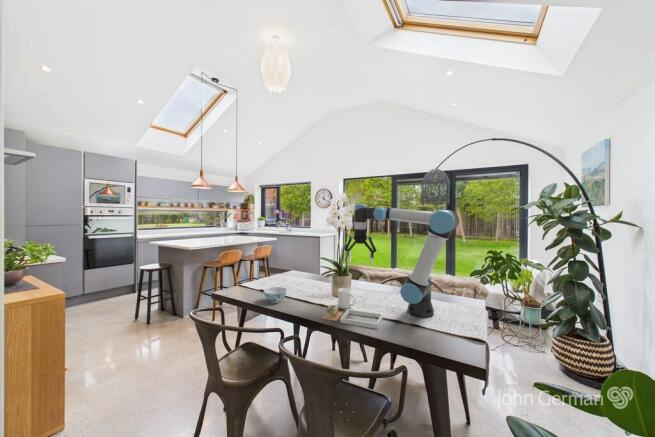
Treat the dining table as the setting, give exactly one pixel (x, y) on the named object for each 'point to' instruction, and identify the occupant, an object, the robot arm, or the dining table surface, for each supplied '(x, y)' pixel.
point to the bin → (361, 323)
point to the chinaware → (275, 294)
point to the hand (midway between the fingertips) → (360, 262)
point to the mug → (345, 298)
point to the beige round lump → (332, 311)
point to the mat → (332, 317)
